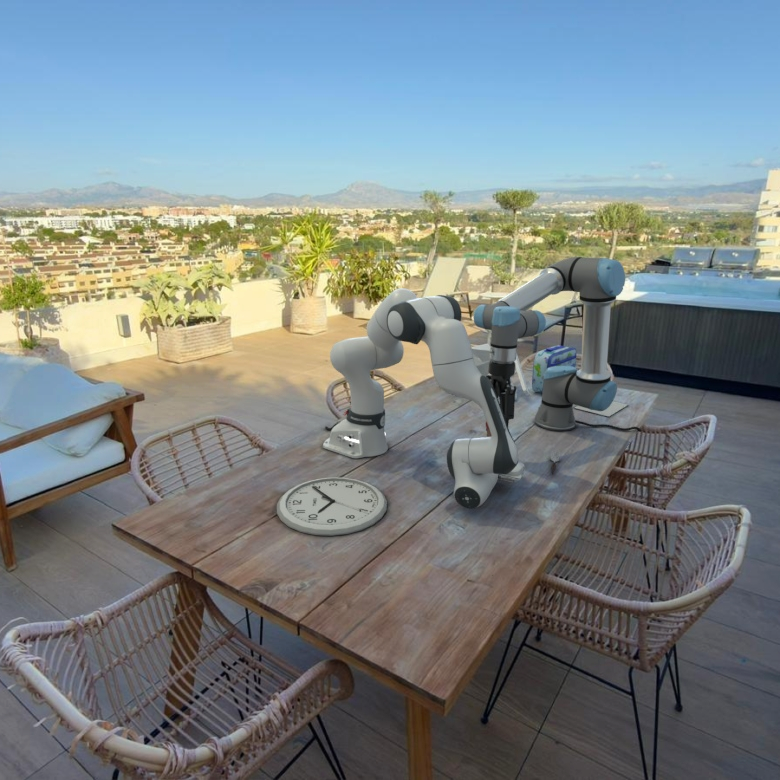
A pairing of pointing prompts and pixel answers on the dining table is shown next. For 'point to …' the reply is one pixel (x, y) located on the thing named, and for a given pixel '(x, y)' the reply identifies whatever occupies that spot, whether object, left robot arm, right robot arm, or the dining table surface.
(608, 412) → the invitation card
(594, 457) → the dining table surface
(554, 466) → the fork
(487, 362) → the white plastic object
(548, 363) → the lunch box
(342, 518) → the wall clock
